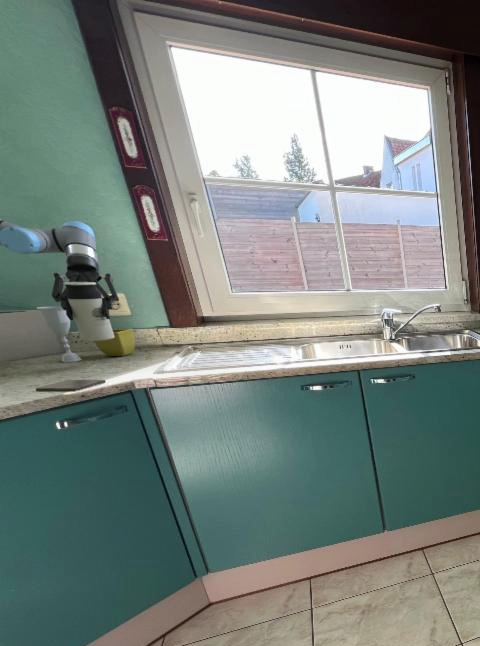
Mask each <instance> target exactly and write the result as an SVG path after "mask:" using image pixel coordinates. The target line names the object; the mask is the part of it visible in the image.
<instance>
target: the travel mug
mask: <svg viewBox="0 0 480 646" xmlns="http://www.w3.org/2000/svg"><path fill="white" fill-rule="evenodd" d="M63 284H64V286H65V288H66V287H67V292H66V295H67V298H68V301H69V304H70V307H71V310H72V313H73V319H74V322H75V324H76V327H77V330H78V333H79V335H80V339H81V340H83V341H88V342H94V341H100V340H109V339H113V338H114V337H115V336H114V333H113V330H112V329H113V328H112V324H111V321H110V319H107V318H106V317H105V315H104V311H103V303H102V298H103V296H102V295H101V293H100V292H99V291H98V290H97V289H96V283H95V282H69V281H65V282H63Z"/></svg>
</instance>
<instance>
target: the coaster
mask: <svg viewBox="0 0 480 646" xmlns="http://www.w3.org/2000/svg"><path fill="white" fill-rule="evenodd" d="M101 383H102V384H104V383H106V380H105V379H66V380H61V381H57V382H53V383H51V384H46V385H43V386H39V387H36V388H35V391H36V392H77V391H80V389H81V390H84V389H87V387H88V388H91V387H94V386H93V385H95V386H98V385H102V384H101ZM97 384H98V385H97ZM90 386H91V387H90ZM83 388H84V389H83ZM76 390H77V391H76Z"/></svg>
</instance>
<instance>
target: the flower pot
mask: <svg viewBox="0 0 480 646" xmlns="http://www.w3.org/2000/svg"><path fill="white" fill-rule="evenodd" d="M112 330H113V333H114V336H115V337H114V338H113V339H109V340H100V341H93V342H94V344H95V345H96V347H97V348H98V349H99V351H101V352H102V353H103V354H104V355H106V356H107V357H124V356H128V355H132V354H133V353H134V350H135V347H136V338H135V333H134V329H133V328H112Z"/></svg>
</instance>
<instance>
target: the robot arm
mask: <svg viewBox="0 0 480 646" xmlns="http://www.w3.org/2000/svg"><path fill="white" fill-rule="evenodd" d="M96 243H97V239H96V237H95V233H94V230H93V229H92V227H90V226H89V225H88V224H86V223H84V222H82V221H77V220H69V221H67V222H64V223H63V224H62V226H61V227H60V228H58V227H57V228H33V227H23V226H21V225H18V224H15V223H12V222H9V221H6V220H4V219H2V218H0V246H2V247H4V248H6V249H7V250H9V251H12V252H13V253H18V254H21V255H32V254H34V255H36V254H57V253H59V254H60V253H61V254H62V253H63V254H65V263H66V264H65V265H66V272H65V273H64V274H63V273H62V274H61V273H60V274H59V272H54V273H53V277H54V282H53V287H52V291H51V297H52V299H53V300H54V302H56V303H60V306H61V307H62V308H63V310H66V315H67V316H68V318H69V319H70V321H74V315H73V313H72V310H71V307H70V304H69V301H68V298H67V295H66V292H67V287H66V286H65V284H63V283H65V282H66V280H67V279H68V282H95V283H96V289H97V290H98V291H99V292H100V293H101V296H102V303H103V311H104V315H105V317H106V318H107V319H109V320H110V319H111V316H110V310H113V309H114V307H113V302H119V301H120V298H119V296H118V293H117V291H116V288H115V287H114V284H113V283H114V278H113V277H112V275H111V273H105V274H101V273H100V266H99V257H98V252H97V244H96ZM101 280H103V281H104V282H105V283H106V285H107V287H108V289H109V292H110V294H111V295H110V294H108V292H107V291H106V290H105V289H104V288H103V287H102V286H101V285H100V283H99V282H100V281H101ZM64 286H65V288H64Z"/></svg>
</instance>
